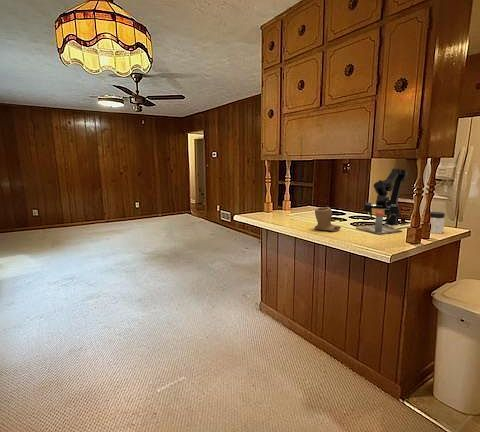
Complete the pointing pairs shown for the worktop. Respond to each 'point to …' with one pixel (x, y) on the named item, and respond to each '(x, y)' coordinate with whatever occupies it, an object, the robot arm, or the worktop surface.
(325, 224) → the brown boot-shaped piece
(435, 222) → the jar
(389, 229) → the brown framed square board
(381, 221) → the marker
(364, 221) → the worktop surface
